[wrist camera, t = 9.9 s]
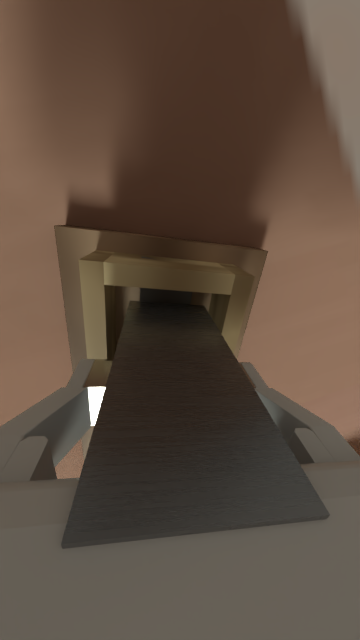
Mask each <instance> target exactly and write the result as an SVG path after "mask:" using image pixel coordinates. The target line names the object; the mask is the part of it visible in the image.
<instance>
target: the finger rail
mask: <svg viewBox="0 0 360 640" xmlns="http://www.w3.org/2000/svg"><path fill="white" fill-rule="evenodd" d="M54 229H55V236H56V244H57V252H58V260H59V268H60V276H61V283H62V291H63V299H64V307H65V315H66V322H67V330H68V338H69V346H70V354H71V361H72V369H73V373H74V371H75V369H76V367H77V365H78V363H79V361H80V360H81V359H110V360H113V359H114V355H115V352H116V348H117V345H118V341H119V337H120V334H121V330H122V327H123V323H124V320H125V316H126V313H127V309H128V306H129V302H130V300H131V301H145V302H160V303H175V304H189V305H204V306H205V308H206V309H207V311H208V313H209V314H210V316H211V317H212V319H213V321H214V322H215V324H216V326H217V327H218V329H219V331H220V332H221V334H222V336H223V337H224V339H225V341H226V342H227V344H228V346H229V347H230V349H231V351H232V352H233V354H234V356H235V357H236V359H237V357H238V353H239V350H240V346H241V343H242V340H243V336H244V333H245V329H246V326H247V322H248V319H249V315H250V312H251V308H252V305H253V301H254V298H255V295H256V291H257V288H258V284H259V281H260V277H261V274H262V270H263V267H264V263H265V260H266V256H267V253H268V251H265V250H262V249H258V248H251V247H243V246H235V245H226V244H218V243H210V242H202V241H193V240H185V239H177V238H168V237H160V236H152V235H144V234H135V233H127V232H119V231H110V230H102V229H94V228H85V227H77V226H69V225H58V226H54ZM94 426H95V425H93V426H91V427H90V429H89V430H88V431H87V432H86V433H85V434H84V435H83V436H82V437H81V440H82V447H83V455H84V461H85V457H86V454H87V450H88V447H89V443H90V440H91V436H92V433H93V429H94Z"/></svg>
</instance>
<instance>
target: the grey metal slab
mask: <svg viewBox="0 0 360 640" xmlns="http://www.w3.org/2000/svg"><path fill="white" fill-rule="evenodd" d="M329 516H330V514H329V512H328V510H327V509H326V507H325V505H324V504H323V502H322V500H321V499H320V497H319V495H318V494H317V492H316V490H315V489H314V487H313V485H312V484H311V482H310V480H309V479H308V477H307V475H306V474H305V472H304V470H303V469H302V467H301V465H300V464H299V462H298V460H297V459H296V457H295V455H294V454H293V452H292V450H291V449H290V447H289V446H288V444H287V442H286V441H285V439H284V437H283V436H282V434H281V432H280V431H279V429H278V427H277V426H276V424H275V422H274V421H273V419H272V417H271V416H270V414H269V412H268V411H267V409H266V407H265V406H264V404H263V402H262V401H261V399H260V397H259V396H258V394H257V392H256V391H255V389H254V387H253V386H252V384H251V382H250V381H249V379H248V377H247V376H246V374H245V372H244V371H243V369H242V367H241V366H240V364H239V362H238V361H237V359H236V357H235V356H234V354H233V352H232V351H231V349H230V347H229V346H228V344H227V342H226V341H225V339H224V337H223V336H222V334H221V332H220V331H219V329H218V327H217V326H216V324H215V322H214V321H213V319H212V317H211V316H210V314H209V313H208V311H207V309H206V308H205V306H204V305H189V304H175V303H160V302H145V301H131V300H130V302H129V306H128V309H127V313H126V316H125V320H124V323H123V327H122V330H121V334H120V337H119V341H118V345H117V348H116V352H115V355H114V359H113V362H112V366H111V369H110V373H109V376H108V380H107V383H106V387H105V390H104V394H103V397H102V401H101V404H100V408H99V412H98V415H97V419H96V422H95V426H94V429H93V433H92V436H91V440H90V443H89V447H88V450H87V454H86V457H85V461H84V464H83V468H82V471H81V475H80V479H79V482H78V486H77V489H76V493H75V496H74V500H73V503H72V507H71V510H70V514H69V517H68V521H67V524H66V528H65V531H64V535H63V538H62V542H61V546H62V549H65V548H74V547H83V546H92V545H101V544H110V543H119V542H128V541H137V540H146V539H155V538H164V537H173V536H181V535H190V534H199V533H208V532H217V531H226V530H235V529H244V528H253V527H262V526H271V525H280V524H289V523H298V522H307V521H316V520H325V519H327V518H328V517H329Z"/></svg>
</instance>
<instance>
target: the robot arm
mask: <svg viewBox="0 0 360 640" xmlns="http://www.w3.org/2000/svg"><path fill="white" fill-rule="evenodd" d="M112 362H113V360H110V359H81V360H80V361H79V363H78V365H77V367H76V369H75V371H74V373H73V375H72V377H71V379H70V381H69V382H68V384H67V386H66V388H60V389H59V390H57V391H55V392H54V393H52V394H51V395H49V396H48V397H46V398H44V399H43V400H41V401H40V402H38V403H37V404H35V405H34V406H32V407H30V408H29V409H27V410H26V411H24V412H23V413H21V414H19V415H18V416H16V417H15V418H13V419H12V420H10V421H8V422H7V423H5V424H4V425H2V426H1V427H0V640H360V456H359V455H358V454H357V453H356V451H355V450H354V449H353V448H352V447H351V446H350V445H349V443H348V442H347V441H346V440H345V439H344V438H343V437H342V435H341V434H340V433H339V432H338V431H337V430H336V429H335V427H334V426H332V425H331V424H329V423H327V422H326V421H324V420H323V419H321V418H319V417H318V416H316V415H315V414H313V413H311V412H310V411H308V410H307V409H305V408H303V407H302V406H300V405H298V404H297V403H295V402H294V401H292V400H290V399H289V398H287V397H286V396H284V395H282V394H281V393H279V392H278V391H276V390H274V389H273V388H268V386H267V385H266V383H265V382H264V380H263V379H262V378H261V376H260V375H259V373H258V372H257V370H256V369H255V368H254V366H253V365H252V364H251V363H250V362H239V364H240V366H241V367H242V369H243V371H244V372H245V374H246V376H247V377H248V379H249V381H250V382H251V384H252V386H253V387H254V389H255V391H256V392H257V394H258V396H259V397H260V399H261V401H262V402H263V404H264V406H265V407H266V409H267V411H268V412H269V414H270V416H271V417H272V419H273V421H274V422H275V424H276V426H277V427H278V429H279V431H280V432H281V434H282V436H283V437H284V439H285V441H286V442H287V444H288V446H289V447H290V449H291V450H292V452H293V454H294V455H295V457H296V459H297V460H298V462H299V464H300V465H301V467H302V469H303V470H304V472H305V474H306V475H307V477H308V479H309V480H310V482H311V484H312V485H313V487H314V489H315V490H316V492H317V494H318V495H319V497H320V499H321V500H322V502H323V504H324V505H325V507H326V509H327V510H328V512H329V514H330V516H329V517H328V518H327V519H325V520H316V521H307V522H298V523H289V524H280V525H271V526H262V527H253V528H244V529H235V530H226V531H217V532H208V533H199V534H190V535H181V536H173V537H164V538H155V539H146V540H137V541H128V542H119V543H110V544H101V545H92V546H83V547H74V548H65V549H62V546H61V542H62V538H63V535H64V531H65V528H66V524H67V521H68V517H69V514H70V510H71V507H72V503H73V500H74V496H75V493H76V489H77V486H78V482H79V479H80V478H68V479H57V476H56V472H55V468H54V467H55V466H56V465H57V464H58V463H59V462H60V461H61V460H62V459H63V457H64V456H65V455H66V454H67V453H68V452H69V451H70V450H71V449H72V447H73V446H74V445H75V444H76V443H77V442H78V441H79V440H80V439H81V437H82V436H83V435H84V434H85V433H86V432H87V431H88V430H89V429H90V427H91V426H93V425H95V422H96V419H97V415H98V412H99V408H100V404H101V401H102V397H103V394H104V390H105V387H106V383H107V380H108V376H109V373H110V369H111V366H112Z"/></svg>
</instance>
